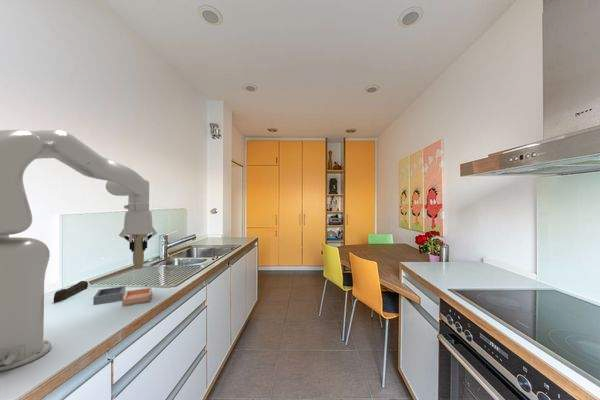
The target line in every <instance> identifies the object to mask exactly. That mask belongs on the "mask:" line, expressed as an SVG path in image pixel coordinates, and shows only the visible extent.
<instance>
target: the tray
mask: <svg viewBox="0 0 600 400" xmlns="http://www.w3.org/2000/svg"><path fill="white" fill-rule="evenodd" d="M152 288H153V287H144V288H138V289H132V290H125V295H124V297H123V300H121V301H122V302H121V303H122V305H121V306H122V307H126V306H133V305H138V304H145V302H146V303H150V301H152V292H153V291H152V290H153V289H152Z"/></svg>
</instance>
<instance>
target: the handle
mask: <svg viewBox="0 0 600 400" xmlns="http://www.w3.org/2000/svg"><path fill="white" fill-rule="evenodd" d="M147 235H148V236H149V234H147ZM132 237H133V241H134V251H133V252H132V264H133V269H134V270H141V269H143V267H144V259H145V253H144V252H145V251H143V241H144V237H146V234H144V235H132Z"/></svg>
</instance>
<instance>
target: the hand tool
mask: <svg viewBox="0 0 600 400" xmlns="http://www.w3.org/2000/svg"><path fill="white" fill-rule="evenodd" d="M88 285H89V283H88V281H86V280H81V281H79V282H78V283H76V284H73V285H70V287H68V288H61V289H60V290H57V291H56V292H55V293H54V296H53V304H58V303H60V302H62V301H64V300H67V299H68V297H70V296H72V295H74V294H76V293H78V292H80V291H82V290H84V289H85V290H86V289H88V287H89V286H88Z"/></svg>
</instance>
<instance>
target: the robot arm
mask: <svg viewBox="0 0 600 400" xmlns="http://www.w3.org/2000/svg"><path fill="white" fill-rule="evenodd" d="M37 159H38V160H40V159H55V160H57V161H59V162H61V163H62V164H64V165H66V166H68V167H69V168H71V169H72V170H74V171H75V172H78V173H79V174H81V175H83V176H85V177H88V178H91V179H96V180H101V181H106V182H105V190H106V191H107V192H108V193H109V194H111V195H113V196H116V197H117V196H118V197H121V196H122V197H126V196H128V199H127V201H128V203H127V204H125V205H123V208H124V210H126V209H127V211H125V215H124V221H123V222H124V223H123V228H122V230H121V232H120V233H119V234H118V236H119V237H120V238H123V239H124V240H126V241H127V242H128V243H129V250H130V252H131V253H133V251H134V239H133V237H132V235H144V234H146V237H144V239H143V251H144V252H146V249H148V241H149V240H150V239H151V238H153V237H154V236H156V235H158V232H157V231H156V229H155V228H154V227H153V215H152V211H151V210H150V182H149V180H147V179H144V178H143V176H141V175H140V174H139V173H138V172H136V171H134V169H132V168H130V167H128V166H126V165H124V164H121V163H119V162H116V161H114V160H111V159H109V158H105V157H103V156H102V155H100V154H99V153H98V152H96V151H95V150H93V149H92V148H91V147H90V146H88V145H86V144H85V143H84V142H82V141H81V140H80V139H78V138H77V137H76V136H74V135H73V134H71V133H69V132H67V131H65V130H61V129H46V130H45V129H44V130H43V129H41V130H25V129H0V372H3V371H7V370H11V369H14V368H18V367H20V366H23V365H26V364H28V363H31V362H34V361H35V360H37V359H39V358H40V357H43V356H44V355H45V354H46V353H48V352H49V351H50V350H51V348H52V342H51V341H50V340H46V339H44V329H45V328H44V326H45V325H44V324H45V322H44V321H45V315H44V314H45V279H46V272H47V268H48V264H49V261H50V254H51V253H50V249H49V247H48V245H47V244H45V242H43V241H41V240H40V239H36V238H32V237H18V236H15V237H13V236H12V237H10V235H17V234H20V233H23V232H25V231H27V230H28V229H29V228H31V226H32V223H33V215H32V211H31V208H30V207H31V206H30V204H29V200H28V196H27V194H26V189H25V185H24V174H25V171H26V169H27V168H28V167H29V166H30V164H31V163H32V162H34V161H35V160H37ZM147 234H148V235H147Z"/></svg>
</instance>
